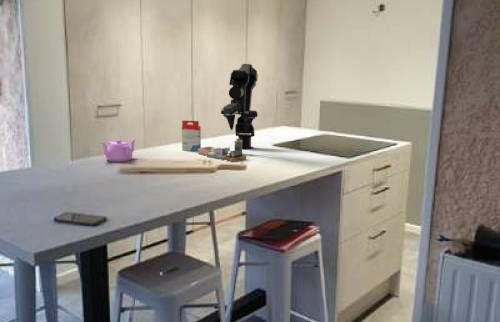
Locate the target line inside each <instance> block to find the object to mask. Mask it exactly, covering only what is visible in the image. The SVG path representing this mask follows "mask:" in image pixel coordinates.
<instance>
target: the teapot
mask: <svg viewBox="0 0 500 322" xmlns="http://www.w3.org/2000/svg"><path fill="white" fill-rule="evenodd" d="M136 140H137V138H133V139H132V140H131V142H130V145H129V144H128V143H127V142H125V141H122V139H116V140H115V141H111V140H110V141H108V146H107V143H106V142H105V143H104V142H102V141H101V142H100V144H102V148H103V149H102V150H103V154H104V156H105V158H106V160H108V161H109V162H111V163H120V162H121V163H123V162H129V161H131V160H132V158H133V153H134V150H135V142H136Z"/></svg>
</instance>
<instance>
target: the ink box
mask: <svg viewBox="0 0 500 322" xmlns="http://www.w3.org/2000/svg"><path fill="white" fill-rule="evenodd" d="M199 123H200V122H199V121H198V120H182V121H181V125H182V126H181V151H189V152H198V148H202V145H201V142H202V141H201V138H202V137H201V135H202V132H201V131H202V129H201V125H200V124H199Z"/></svg>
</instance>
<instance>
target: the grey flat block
mask: <svg viewBox="0 0 500 322" xmlns="http://www.w3.org/2000/svg"><path fill="white" fill-rule="evenodd" d="M221 148H222V147H219V146H218V147H214V148H212V149H211V152H209V153H208V154H207V156H206V158H210V159H214V158H215V160H219V159H222V155H220V149H221ZM223 156H226V155H223Z"/></svg>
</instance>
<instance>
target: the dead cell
mask: <svg viewBox="0 0 500 322" xmlns="http://www.w3.org/2000/svg"><path fill="white" fill-rule="evenodd" d="M236 150H241V152H242V153H243V149H242V139H240V138H238V137H237V138H235V139H234V151H236Z"/></svg>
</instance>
